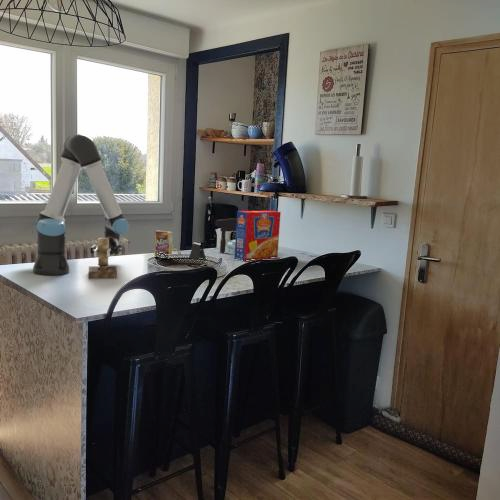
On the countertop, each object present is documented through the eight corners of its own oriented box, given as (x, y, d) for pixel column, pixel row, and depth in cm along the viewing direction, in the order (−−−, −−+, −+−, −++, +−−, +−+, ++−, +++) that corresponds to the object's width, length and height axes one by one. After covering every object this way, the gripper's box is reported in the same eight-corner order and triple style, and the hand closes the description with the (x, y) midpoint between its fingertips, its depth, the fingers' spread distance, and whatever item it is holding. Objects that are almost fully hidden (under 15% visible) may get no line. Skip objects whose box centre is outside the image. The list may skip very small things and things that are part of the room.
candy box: (154, 258, 270) (154, 230, 268) (157, 256, 274) (158, 230, 272) (168, 259, 267) (169, 232, 265) (172, 258, 271) (173, 231, 269)
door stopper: (193, 267, 251) (195, 244, 249) (186, 265, 255) (187, 242, 254) (207, 265, 258) (208, 243, 256) (199, 263, 262) (201, 241, 260)
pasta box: (243, 261, 276) (246, 212, 272) (234, 259, 282) (237, 211, 277) (277, 258, 296) (280, 212, 291) (267, 255, 301) (270, 210, 297)
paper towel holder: (207, 217, 302) (247, 216, 324) (206, 251, 305) (245, 247, 327) (223, 220, 290) (263, 219, 312) (222, 255, 293) (261, 251, 316)
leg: (97, 272, 217) (97, 239, 215) (97, 270, 221) (97, 237, 219) (108, 272, 218) (109, 239, 216) (108, 270, 223) (108, 237, 221)
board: (88, 278, 213) (88, 271, 212) (88, 272, 224) (88, 266, 223) (117, 278, 216) (117, 271, 216) (115, 272, 228) (115, 266, 227)
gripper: (128, 253, 238) (122, 262, 215) (90, 252, 235) (80, 261, 213) (128, 238, 237) (122, 246, 214) (90, 237, 234) (80, 244, 211)
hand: (101, 253), depth 213 cm, fingers closed on leg, 5 cm apart
